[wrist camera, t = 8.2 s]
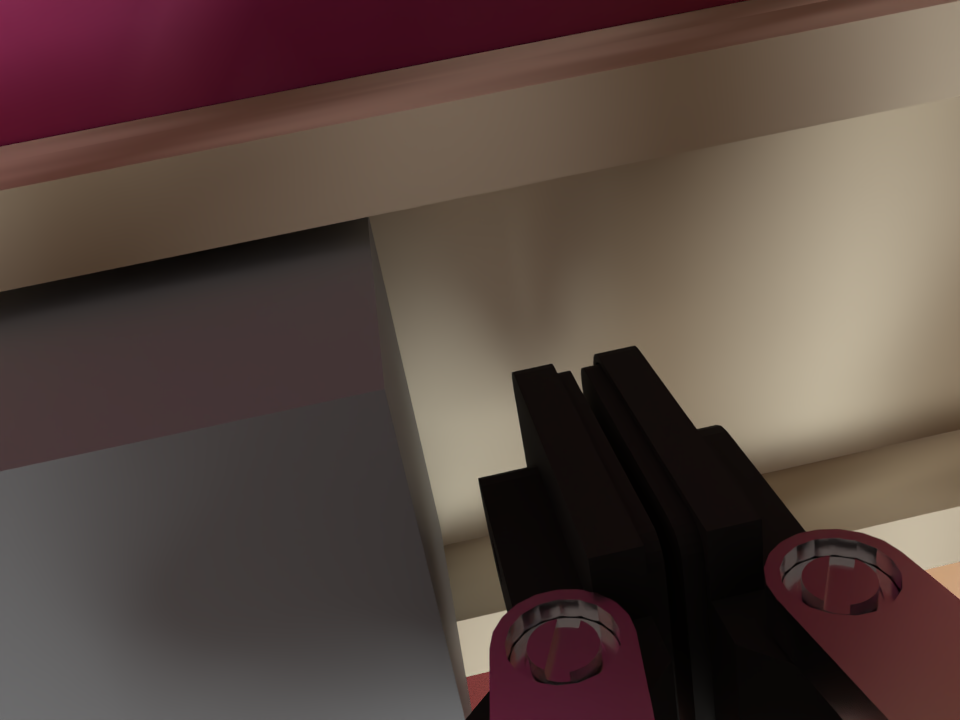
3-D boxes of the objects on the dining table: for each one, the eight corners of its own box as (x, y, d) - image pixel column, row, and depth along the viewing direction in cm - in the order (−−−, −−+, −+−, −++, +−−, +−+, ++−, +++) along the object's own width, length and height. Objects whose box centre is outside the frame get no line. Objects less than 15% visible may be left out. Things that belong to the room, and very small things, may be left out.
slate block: (366, 204, 13) (384, 389, 8) (440, 528, 16) (491, 827, 11) (-42, 287, 13) (-309, 537, 8) (103, 603, 16) (-19, 950, 10)
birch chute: (1396, -127, 15) (1677, -142, 12) (1271, 361, 19) (1454, 446, 16) (-198, 185, 14) (-360, 261, 10) (36, 639, 18) (-29, 792, 15)
